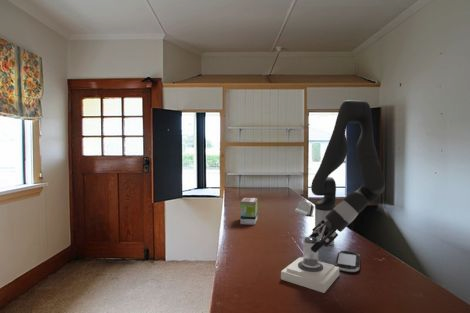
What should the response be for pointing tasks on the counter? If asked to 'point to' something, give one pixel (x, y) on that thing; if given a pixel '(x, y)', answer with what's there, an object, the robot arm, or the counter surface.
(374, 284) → the counter surface
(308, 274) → the stand
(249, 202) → the tea box
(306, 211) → the hinge
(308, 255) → the knob
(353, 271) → the gaming console
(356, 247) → the counter surface
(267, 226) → the counter surface
